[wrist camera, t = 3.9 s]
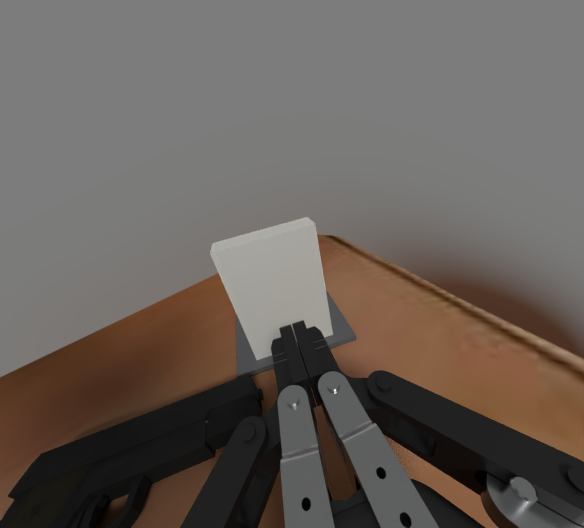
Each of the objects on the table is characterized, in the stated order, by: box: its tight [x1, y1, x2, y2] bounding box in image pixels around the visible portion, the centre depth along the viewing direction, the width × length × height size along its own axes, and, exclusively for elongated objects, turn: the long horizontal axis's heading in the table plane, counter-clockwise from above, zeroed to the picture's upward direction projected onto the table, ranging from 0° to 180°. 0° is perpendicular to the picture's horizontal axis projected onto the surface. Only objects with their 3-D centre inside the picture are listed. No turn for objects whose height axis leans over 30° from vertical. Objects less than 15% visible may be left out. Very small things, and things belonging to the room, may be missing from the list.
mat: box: [236, 291, 356, 378], centre depth 28 cm, size 16×12×1 cm
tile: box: [210, 217, 333, 360], centre depth 20 cm, size 2×8×12 cm, turn 103°
